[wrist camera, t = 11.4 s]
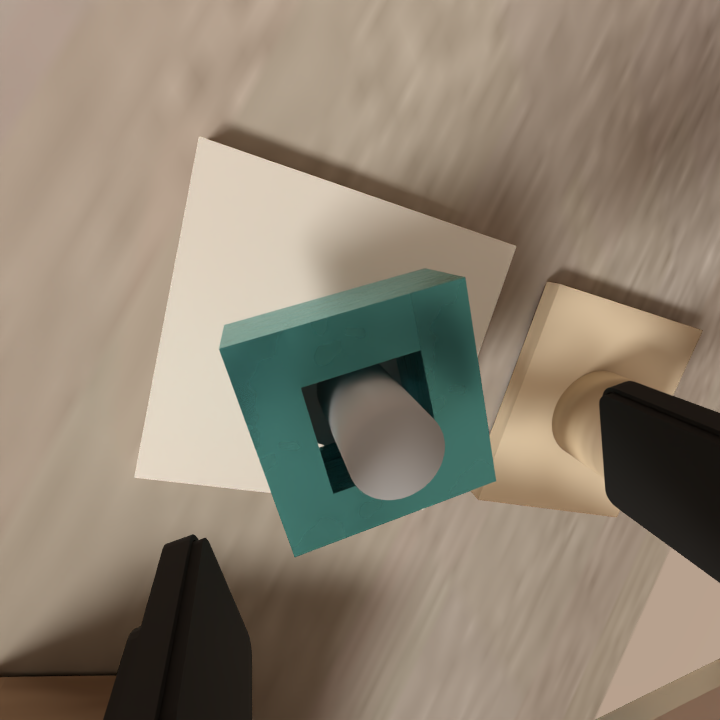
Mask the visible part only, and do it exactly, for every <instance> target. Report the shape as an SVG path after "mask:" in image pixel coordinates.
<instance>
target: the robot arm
mask: <svg viewBox="0 0 720 720" xmlns="http://www.w3.org/2000/svg"><path fill="white" fill-rule="evenodd" d="M599 410H600V424H601V439H602V453H603V467H604V481H605V492H606V495H607V497H608V499H609V500H610V502H611V503H612V504H613V505H614V506H615V507H617V508H618V509H619V510H621V511H622V512H623V513H625V514H626V515H628V516H629V517H630V518H632V519H633V520H634V521H636V522H637V523H638V524H640V525H641V526H643V527H644V528H645V529H647V530H648V531H649V532H651V533H652V534H654V535H655V536H656V537H658V538H659V539H660V540H662V541H663V542H665V543H666V544H667V545H669V546H670V547H671V548H673V549H674V550H676V551H677V552H678V553H680V554H681V555H682V556H684V557H685V558H687V559H688V560H690V561H691V562H692V563H693V564H695V565H696V566H697V567H699V568H700V569H702V570H703V571H704V572H706V573H707V574H708V575H710V576H711V577H713V578H714V579H715V580H717V581H718V582H720V413H718V412H715V411H713V410H710V409H707V408H704V407H702V406H699V405H696V404H694V403H691V402H688V401H685V400H683V399H680V398H677V397H675V396H672V395H669V394H667V393H664V392H661V391H658V390H656V389H653V388H650V387H648V386H645V385H642V384H639V383H637V382H634V381H626V382H623V383H620V384H617V385H615V386H612V387H609V388H607V389H605V390H604V392H603V396H602V397H601V398H600V400H599ZM103 720H252V650H251V643H250V638H249V635H248V632H247V629H246V627H245V625H244V622H243V620H242V618H241V616H240V613H239V611H238V609H237V606H236V604H235V602H234V599H233V597H232V595H231V592H230V590H229V588H228V585H227V583H226V581H225V578H224V576H223V574H222V571H221V569H220V567H219V564H218V562H217V560H216V557H215V555H214V553H213V550H212V548H211V546H210V543H209V541H208V540H207V539H206V538H203V539H200V540H198V538H197V537H196V536H195V535H190V536H187V537H184V538H181V539H179V540H176V541H173V542H170V543H167V544H165V545H164V547H163V550H162V553H161V557H160V560H159V564H158V568H157V571H156V575H155V578H154V582H153V585H152V589H151V593H150V596H149V600H148V603H147V607H146V610H145V614H144V618H143V621H142V625H141V627H139V628H136V629H134V630H133V631H132V632H131V633H130V635H129V638H128V640H127V643H126V646H125V649H124V653H123V656H122V659H121V662H120V666H119V669H118V672H117V676H116V679H115V682H114V685H113V689H112V692H111V695H110V698H109V702H108V705H107V708H106V712H105V715H104V718H103ZM596 720H720V659H718V660H716V661H714V662H712V663H710V664H708V665H706V666H704V667H702V668H700V669H698V670H695V671H693V672H691V673H689V674H687V675H685V676H683V677H681V678H679V679H677V680H675V681H673V682H671V683H669V684H667V685H665V686H663V687H661V688H659V689H657V690H655V691H653V692H651V693H648V694H646V695H644V696H642V697H640V698H638V699H636V700H634V701H632V702H630V703H628V704H626V705H624V706H622V707H620V708H618V709H616V710H614V711H612V712H610V713H608V714H606V715H604V716H602V717H600V718H598V719H596Z"/></svg>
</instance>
